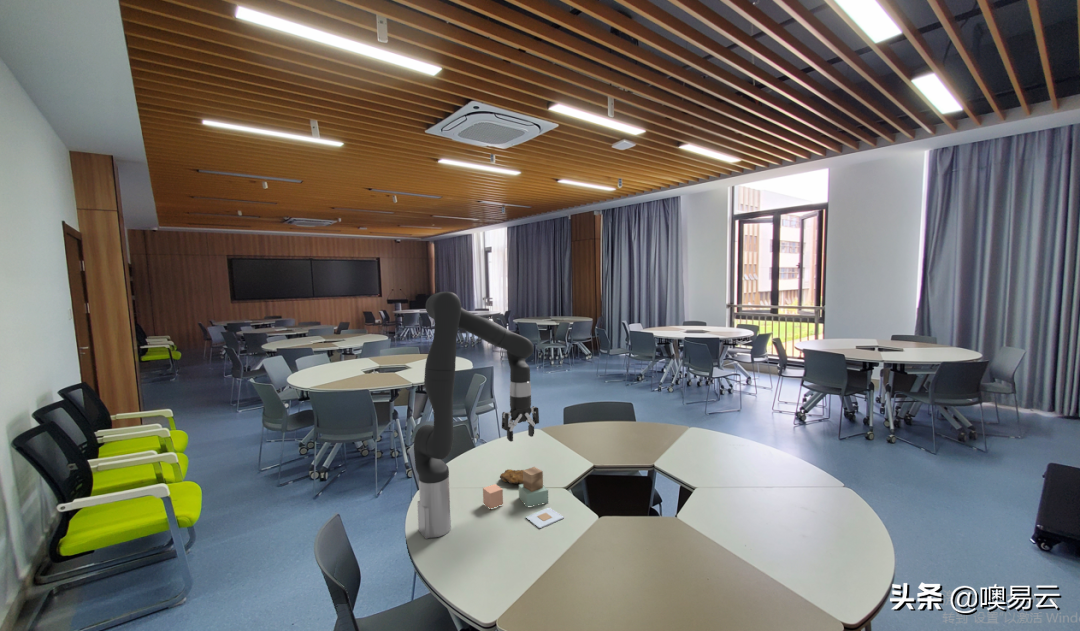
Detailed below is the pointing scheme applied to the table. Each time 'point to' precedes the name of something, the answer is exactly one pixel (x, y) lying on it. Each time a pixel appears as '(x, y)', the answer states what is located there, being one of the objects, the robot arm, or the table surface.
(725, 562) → the table surface
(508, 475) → the decorative rock
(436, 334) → the robot arm
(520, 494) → the base block
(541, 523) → the card
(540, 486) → the walnut block
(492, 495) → the terracotta block
